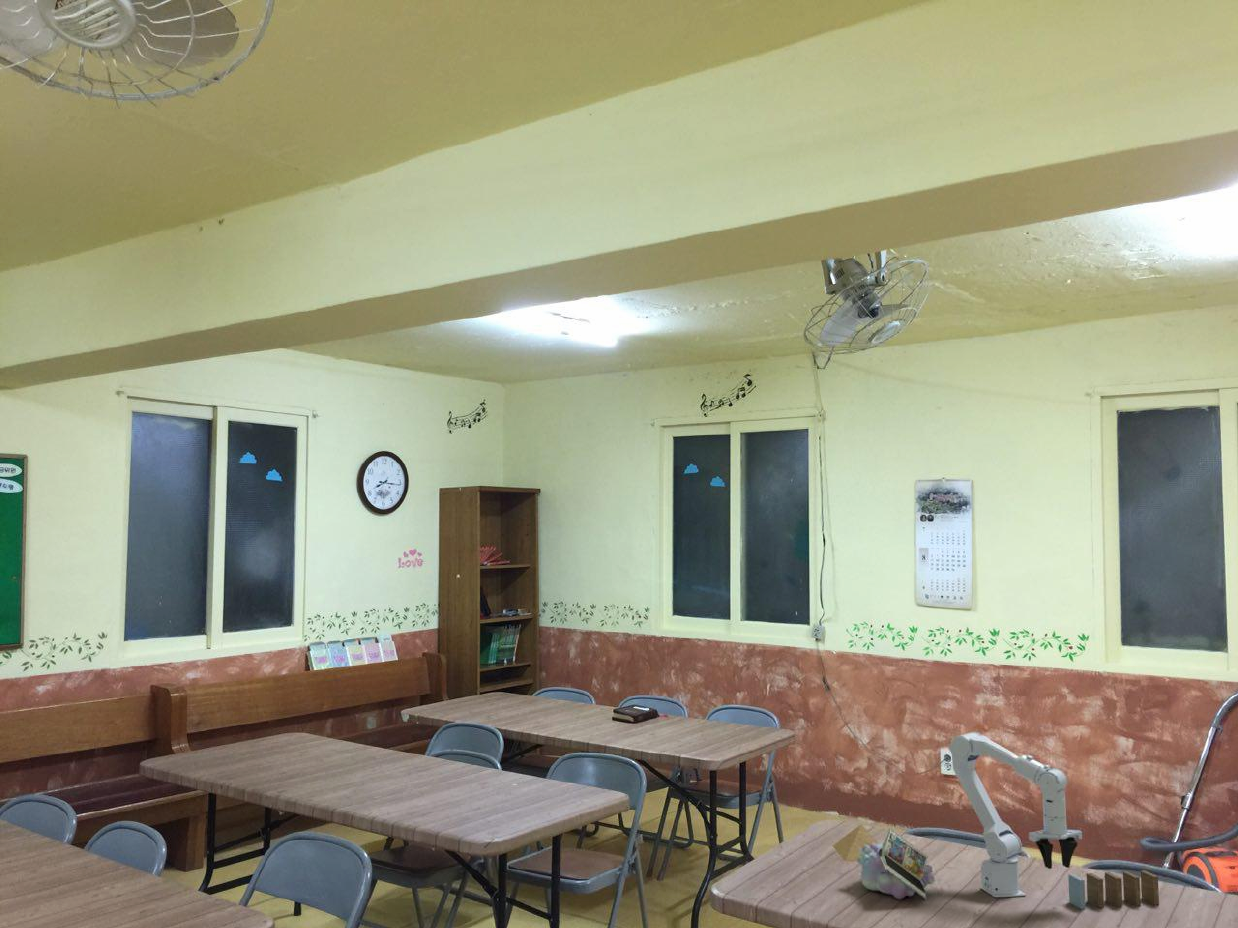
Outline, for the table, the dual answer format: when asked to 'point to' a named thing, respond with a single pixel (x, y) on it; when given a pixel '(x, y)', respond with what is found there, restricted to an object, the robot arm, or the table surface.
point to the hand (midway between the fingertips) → (1057, 866)
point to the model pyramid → (853, 844)
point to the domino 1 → (1077, 891)
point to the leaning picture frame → (895, 867)
